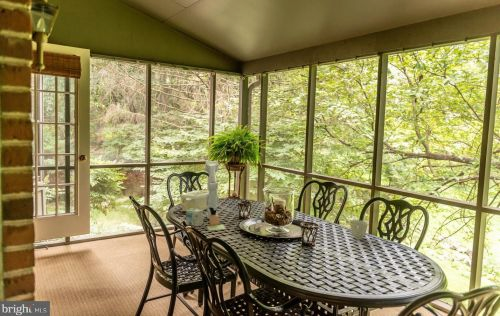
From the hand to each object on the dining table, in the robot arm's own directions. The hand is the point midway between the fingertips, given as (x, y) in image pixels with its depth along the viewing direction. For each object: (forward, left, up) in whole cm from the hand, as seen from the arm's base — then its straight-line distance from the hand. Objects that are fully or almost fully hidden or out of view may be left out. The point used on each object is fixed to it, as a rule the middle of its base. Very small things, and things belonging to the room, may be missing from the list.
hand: (213, 217), depth 256 cm
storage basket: (-47, -5, -5) cm, 47 cm away
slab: (+2, 0, -5) cm, 5 cm away
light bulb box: (-4, -13, -5) cm, 15 cm away
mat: (+10, 0, -5) cm, 11 cm away
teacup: (+59, +82, -5) cm, 101 cm away
